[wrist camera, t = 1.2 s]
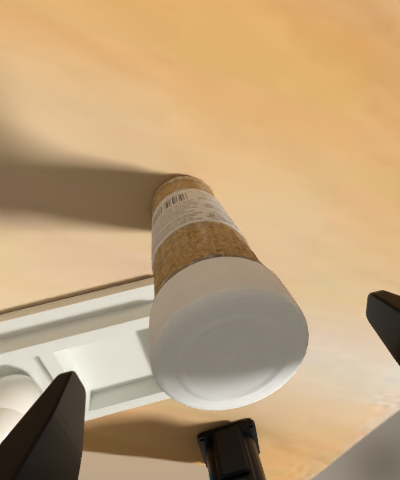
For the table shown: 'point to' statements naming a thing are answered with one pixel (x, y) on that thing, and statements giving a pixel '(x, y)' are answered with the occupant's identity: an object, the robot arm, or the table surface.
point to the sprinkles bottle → (216, 306)
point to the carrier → (87, 346)
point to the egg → (16, 400)
